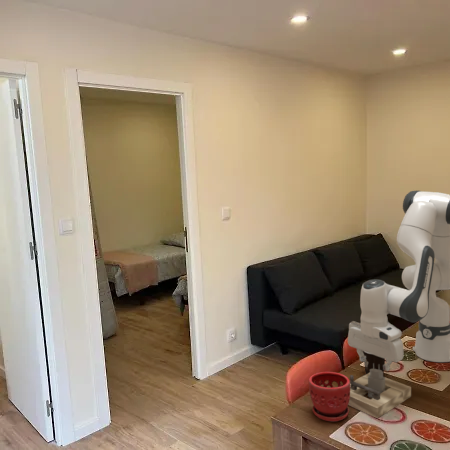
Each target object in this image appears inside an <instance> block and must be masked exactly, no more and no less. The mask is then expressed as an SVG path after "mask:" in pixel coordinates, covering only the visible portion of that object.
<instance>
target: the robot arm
mask: <svg viewBox="0 0 450 450" xmlns="http://www.w3.org/2000/svg"><path fill="white" fill-rule="evenodd" d="M402 210H403V212H404V216H403V218H402V220H401V223H400V225H399V228H398V230H397V234H396V243H397V246H398V247H399V249H400V250H401V251H402V252H403V253H404V254H406V255H407V256H408V257H410V258H411V259H412V260H413V261H414V264H410V265H408V266H405V267H404V269H403V270H402V273H401V281H402V284H403V286H404V287H405V288H406V289H405V288H402V287H399V286H395V285H391V284H389V283H386V282H385V280H383V279H375V278H374V279H369V280H367V281H365V282H363V283H362V286H361V289H360V299H359V300H360V301H359V304H360V310H361V314H360V322H357V321H354V320H352V321H351V322H349V324H348V335H347V344H348V346H349V347H351V348H354V349H356V352H357V354H358V356H359V361H360V362H361V363H364V361H366V356H364V354H363V351H365V352H368V353H370V354H373V355H376V356H379V357H381V358H384V359H385V364H384V365H383V370H384V371H385V372H389V371H390V370H391V364H393V363H395V364H396V363H399V362H401V361H402V360H403V358H404V355H405V354H404V343H403V340H402V339H401V336H402V335H403V333H402V331H401V329H399V328H398V327H396V326H395V325H393V324H391V323H390V322H389V320H388V316H387V315H389V314H390V315H393V316H396V317H399V318H402V319H404V320H405V321H408V322H410V323H417V322H418V331H416V334H415V345H414V346H412V350H413V351H414V352H415V355H416V356H417V357H418V358H420V359H422V360H425V361H427V362H434V363H450V305H449V303H448V302H447V301H446V300H444V299H443V298H441V297H439V296H437V293H436V291H445V290H450V194H448V193H444V192H438V191H436V192H435V191H422V190H411V191H409V192H408V193H407V194H406V195H405V196H404V198H403V201H402Z"/></svg>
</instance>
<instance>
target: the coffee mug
mask: <svg viewBox="0 0 450 450" xmlns="http://www.w3.org/2000/svg"><path fill="white" fill-rule="evenodd" d="M363 354H364V356H366V361H364V362H363V364H364V370H365V375H366V374H368V373H370V369H373V363H374V369H378V370H379V367H380V370H382V371H383V374H384V372H385V370H383V365H385V364H386V359H384V358H381V357H379V356H376V355H373V354H370V353H368V352H365V351H363Z"/></svg>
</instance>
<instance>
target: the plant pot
mask: <svg viewBox="0 0 450 450" xmlns="http://www.w3.org/2000/svg"><path fill="white" fill-rule="evenodd" d="M326 381H328V382H327V383H326ZM333 383H336V384H337V387H335V386H334V385H333ZM341 383H342V384H341ZM308 388H309V395H310V399H311V402H312V404H313V406H312V412H313V414H314V415H315V416H316V417H317V418H318V419H320V420H323V421H326V422H340V421H342V420H343V419H346V418H347V417H348V415H349V413H350V409H349V407H348V406H349V405H348V403H349V399H350V378H349V377H348V376H346V375H344V374H343V373H339V372H335V371H334V372H333V371H322V372H321V371H320V372H316V373H313V375H310V377H309V379H308Z"/></svg>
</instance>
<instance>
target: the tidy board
mask: <svg viewBox="0 0 450 450" xmlns="http://www.w3.org/2000/svg"><path fill="white" fill-rule="evenodd" d="M369 374H370V373H368V374H366V373H365V374H364V375H362V376H361V377H359V378H357V379H355V378H354V375H352V374H351V375H349V380H350V399H349V403H348V406H349V407H352V408H354V409H356V410H358V411H360V412H363V413H365V414H366V415H368V416H371V417H373V418H376V419H379V418H380V417H382V416H383V415H385V414H387V413H388V412H389V411H391V410H392V409H394V408H396V407H397V406H399V405H400V404H403V402H405V401H406V400H408V399H410V398H411V397H412V386H410V385H407V384H404V383H401V382H398V381H396V380H394V379H390V378H387V377H385V391H384V392H382V393H381V394H380V392H378V391H376V390H373V389H371V388H368V376H369ZM354 379H355V380H354ZM368 391H369V392H371V393H373V398H369V397H368V398H367V397H366V395H368Z"/></svg>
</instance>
